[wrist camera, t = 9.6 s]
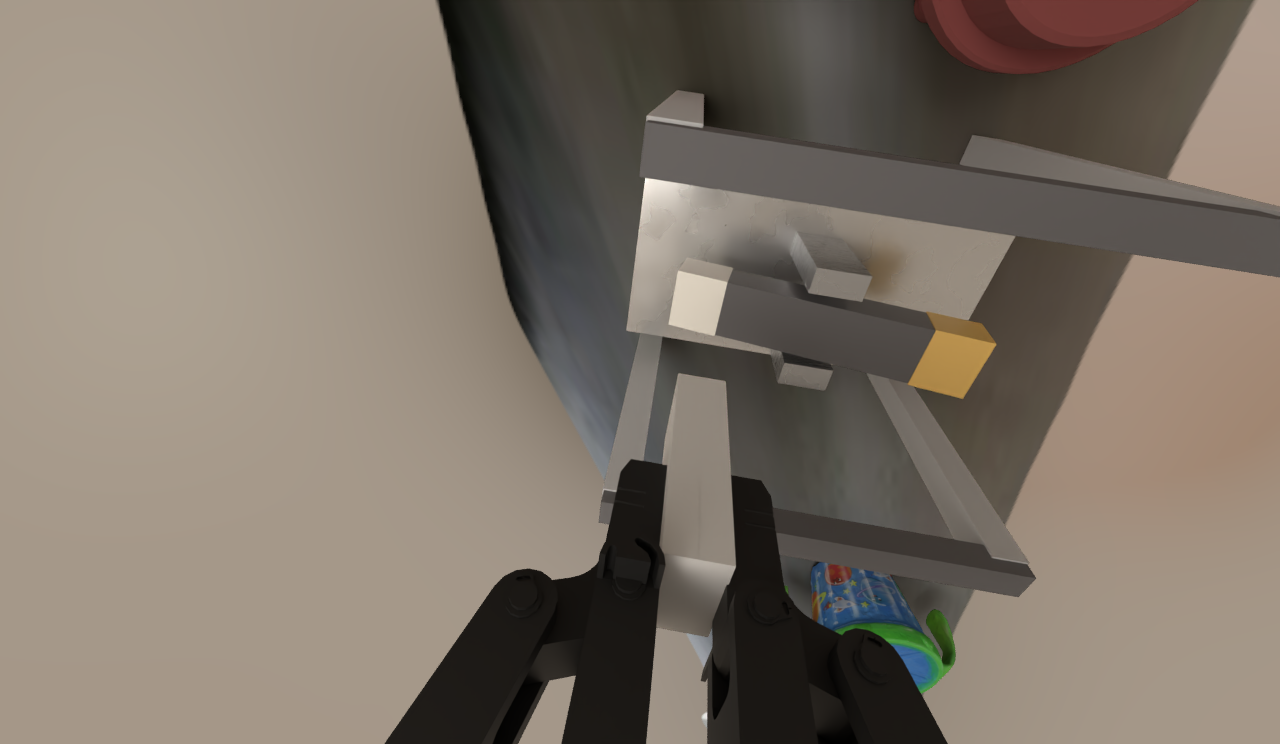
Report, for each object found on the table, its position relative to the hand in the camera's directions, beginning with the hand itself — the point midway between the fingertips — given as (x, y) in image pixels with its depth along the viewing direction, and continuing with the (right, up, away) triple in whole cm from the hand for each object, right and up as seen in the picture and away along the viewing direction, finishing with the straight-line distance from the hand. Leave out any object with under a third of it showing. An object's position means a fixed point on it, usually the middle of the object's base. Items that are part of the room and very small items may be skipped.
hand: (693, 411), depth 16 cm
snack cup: (+20, -19, +34) cm, 44 cm away
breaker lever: (+7, +4, +8) cm, 12 cm away
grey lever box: (+8, +10, +17) cm, 21 cm away
